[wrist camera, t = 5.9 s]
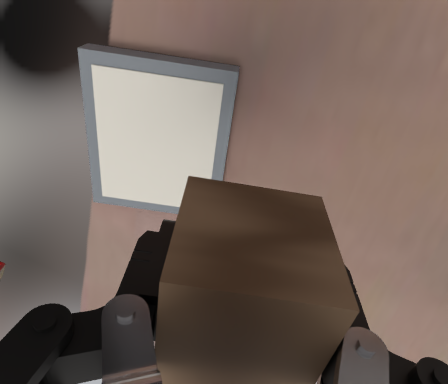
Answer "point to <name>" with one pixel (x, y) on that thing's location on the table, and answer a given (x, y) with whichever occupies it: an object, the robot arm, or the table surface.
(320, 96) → the table surface
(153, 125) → the board
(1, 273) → the stack of blocks
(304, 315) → the cube
